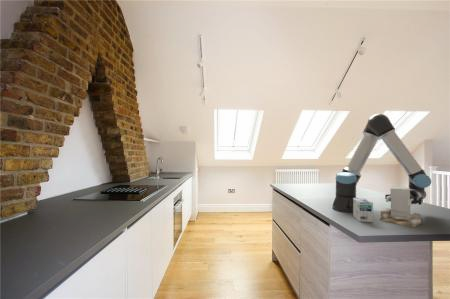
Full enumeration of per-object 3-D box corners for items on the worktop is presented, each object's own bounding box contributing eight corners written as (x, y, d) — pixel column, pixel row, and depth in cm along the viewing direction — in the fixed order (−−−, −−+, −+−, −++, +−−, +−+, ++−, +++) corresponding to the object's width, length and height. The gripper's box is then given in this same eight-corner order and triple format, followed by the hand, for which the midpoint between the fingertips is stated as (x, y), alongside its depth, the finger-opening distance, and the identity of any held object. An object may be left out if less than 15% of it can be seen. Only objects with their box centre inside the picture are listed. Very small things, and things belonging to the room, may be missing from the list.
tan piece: (379, 219, 127) (379, 210, 127) (388, 216, 134) (388, 207, 134) (413, 227, 115) (414, 217, 115) (421, 223, 122) (421, 213, 122)
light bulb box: (373, 222, 122) (373, 202, 122) (359, 221, 123) (359, 201, 123) (365, 217, 132) (365, 198, 132) (352, 216, 134) (352, 197, 134)
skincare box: (410, 217, 124) (411, 188, 124) (409, 219, 119) (410, 189, 119) (391, 214, 130) (391, 186, 130) (389, 216, 125) (390, 187, 125)
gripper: (435, 206, 127) (423, 212, 113) (389, 199, 144) (374, 204, 131) (435, 192, 127) (423, 197, 113) (389, 187, 144) (374, 190, 131)
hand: (397, 201), depth 122 cm, fingers closed on skincare box, 9 cm apart
